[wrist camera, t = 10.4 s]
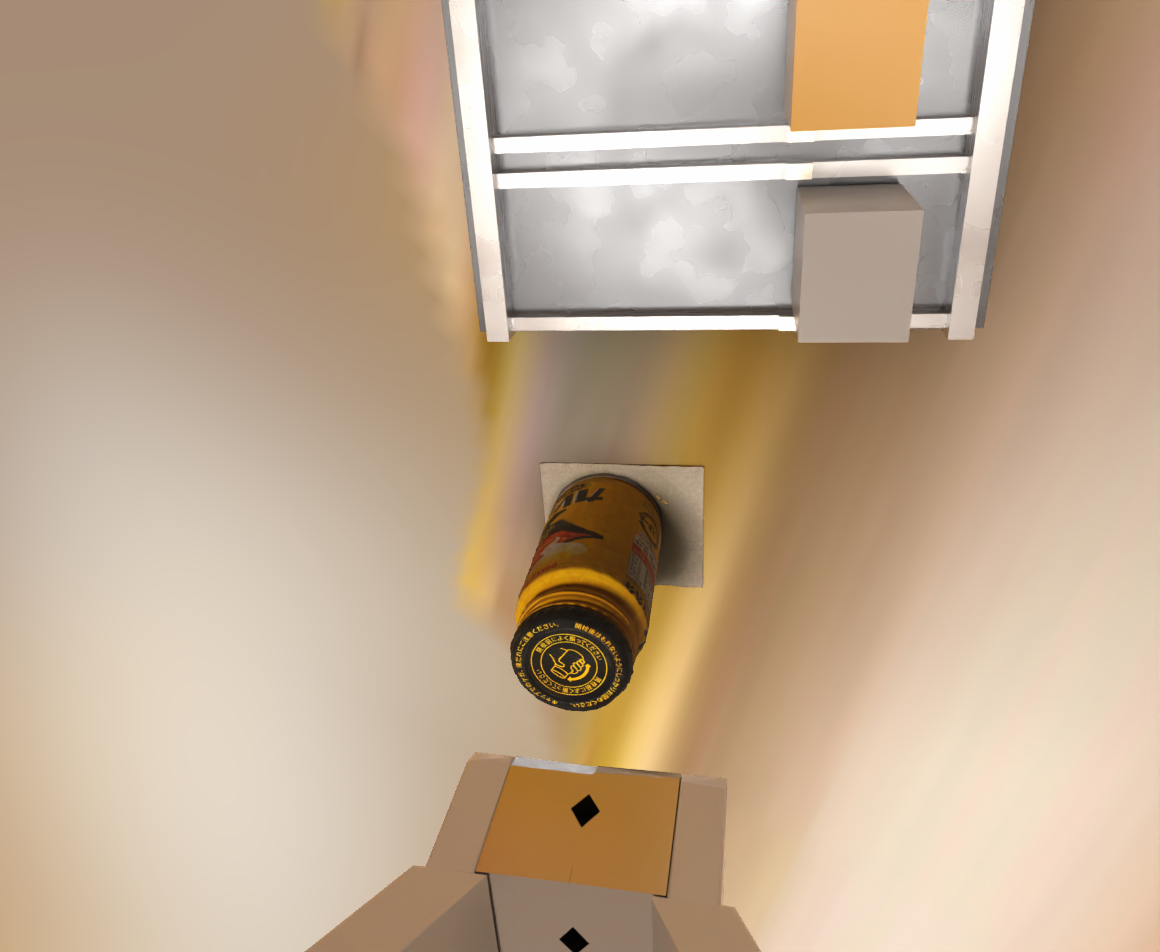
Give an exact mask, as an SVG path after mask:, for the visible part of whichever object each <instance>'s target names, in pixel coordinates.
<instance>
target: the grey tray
mask: <svg viewBox="0 0 1160 952" xmlns="http://www.w3.org/2000/svg"><path fill="white" fill-rule="evenodd" d="M441 1H442V10H443V18H444V27H445V35H446V44H447V52H448V61H449V69H450V78H451V86H452V95H453V103H454V112H455V120H456V129H457V137H458V146H459V154H460V163H461V171H462V180H463V188H464V197H465V205H466V214H467V222H468V231H469V239H470V248H471V256H472V265H473V273H474V282H475V290H476V299H477V307H478V316H479V324H480V331H486V333H487V341H488V342H509V341H510V340H511V338H512V337H513V335H514V334H515V332H516V331H627V330H779V331H796V328H795V322H794V316H793V310H792V304H791V300H792V281H793V262H794V242H795V223H796V204H797V187H811V186H842V185H873V184H902V185H903V186H904V187H905V188H906V190H907V191H908V192H909V193H910V194H911V196H912V197H913V198H914V199H915V200H916V201H917V203H918V204H919V205H920V206H921V207H922V208H923V210H924V214H923V223H922V231H921V240H920V248H919V257H918V265H917V274H916V282H915V291H914V299H913V308H912V316H911V325H910V329H930V328H941V329H942V331H943V333H944V334H945V336H946V338H947V339H973V338H974V331H975V328H983V327H984V320H985V314H986V308H987V301H988V295H989V289H990V282H991V276H992V270H993V263H994V257H995V251H996V244H997V238H998V232H999V225H1000V219H1001V213H1002V206H1003V200H1004V194H1005V187H1006V181H1007V175H1008V168H1009V162H1010V156H1011V149H1012V143H1013V137H1014V130H1015V124H1016V118H1017V111H1018V105H1019V99H1020V92H1021V86H1022V80H1023V73H1024V67H1025V61H1026V54H1027V48H1028V42H1029V35H1030V29H1031V22H1032V16H1033V10H1034V3H1035V0H929V5H928V15H927V24H926V33H925V42H924V51H923V61H922V70H921V79H920V88H919V98H918V107H917V116H916V125H915V126H914V127H890V128H867V129H843V130H820V131H797V132H791V131H790V129H789V126H788V123H787V120H786V118H785V115H784V98H785V75H786V53H787V30H788V7H789V0H441Z"/></svg>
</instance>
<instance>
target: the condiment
mask: <svg viewBox="0 0 1160 952" xmlns="http://www.w3.org/2000/svg"><path fill="white" fill-rule="evenodd" d="M540 471H541V483H542V493H543V502H544V513H545V526H544V529H543V533H542V535H541V539H540V541H539V545H538V547H537V549H536V553H535V556H534V557H533V560H532V564H531V567H530V569H529V572H528V575H527V577H526V580H525V583H524V585H523V587H522V589H521V592H520V594H519V599H518V603H517V608H516V619H515V620H516V622H517V630H516V632H515V634H514V638H513V640H512V642H511V647H510V650H511V660H512V666H513V669H514V672H515V674H516V675H517V677H518V679H519V681H520V682H521V684H522V685H523V686H524V687H525V688H526V689H527V690H528V691H529V692H530V693H531V694H533V695H534V696H535V697H536V698H537V699H539V700H541V701H543V702H544V703H547V704H549V705H551V706H555V707H558V708H561V709H565V710H571V711H589V710H596V709H599V708H601V707H603V706H606V705H607V704H609V703H610V702H611V701H612V700H614V699H615V698H616V697H617V696H618V695H619V694H620V693H621V692H622V691H624V690H625V688H626V687H627V684H628V683H629V682H630V679H631V675H632V674H633V665H634V662H635V659H636V657H637V655H638V653H639V652H640V651H641V650H642V648H643V645H644V644H645V642H646V637H647V632H648V628H649V621H650V613H651V607H652V599H653V592H654V586H655V585H672V586H680V587H701V588H703V491H704V489H703V486H704V467H680V466H668V467H663V466H639V465H617V464H580V463H570V464H565V463H544V464H540ZM656 495H659V497H660V498H661V500H662V499H664V500H666V501H667V502H668V505H666V504H664V503H663V502H662V501H661V500H658V499H657V498H656Z"/></svg>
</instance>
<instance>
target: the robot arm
mask: <svg viewBox="0 0 1160 952" xmlns="http://www.w3.org/2000/svg"><path fill="white" fill-rule="evenodd" d="M726 810H727V779H725V778H717V777H707V776H696V775H686V774H683V776H682V774H679V773H668V772H657V771H646V770H635V769H624V768H613V767H602V766H598V767H593V766H585V765H577V764H570V763H562V762H554V761H547V760H539V759H531V758H524V757H510V756H502V755H495V754H487V753H479V752H475V754H474V755H473V756H472V757H471V758H470V759H469V761H468V762H467V764H466V766H465V769H464V771H463V774H462V776H461V779H460V781H459V784H458V786H457V789H456V791H455V794H454V797H453V799H452V802H451V804H450V807H449V809H448V812H447V814H446V817H445V819H444V822H443V824H442V827H441V830H440V832H439V834H438V837H437V839H436V842H435V844H434V847H433V849H432V852H431V855H430V857H429V860H428V862H427V865H426V867H423V866H412V867H411V868H410V869H408V870H407V871H406V872H405V873H403V874H402V875H401V876H400V877H398V878H397V879H396V880H395V881H393V882H392V883H391V884H390V885H388V886H387V887H386V888H384V889H383V890H382V891H381V892H379V893H378V894H377V895H376V896H374V897H373V898H372V899H371V900H369V901H368V902H367V903H366V904H364V905H363V906H362V907H361V908H359V909H358V910H357V911H355V912H354V913H353V914H352V915H351V916H349V917H348V918H347V919H345V920H344V921H343V922H342V923H340V924H339V925H338V926H337V927H335V928H334V929H333V930H332V931H330V932H329V933H328V934H327V935H325V936H324V937H323V938H322V939H320V940H319V941H318V942H316V943H315V944H314V945H313V946H312V947H310V948H309V949H308V950H306V951H305V952H761V951H760V949H759V947H758V946H757V944H756V942H755V941H754V939H753V937H752V936H751V934H750V932H749V931H748V929H747V927H746V926H745V924H744V922H743V921H742V919H741V917H740V916H739V914H738V912H737V911H736V909H735V907H729V906H723V897H724V868H725V839H726Z"/></svg>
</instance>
